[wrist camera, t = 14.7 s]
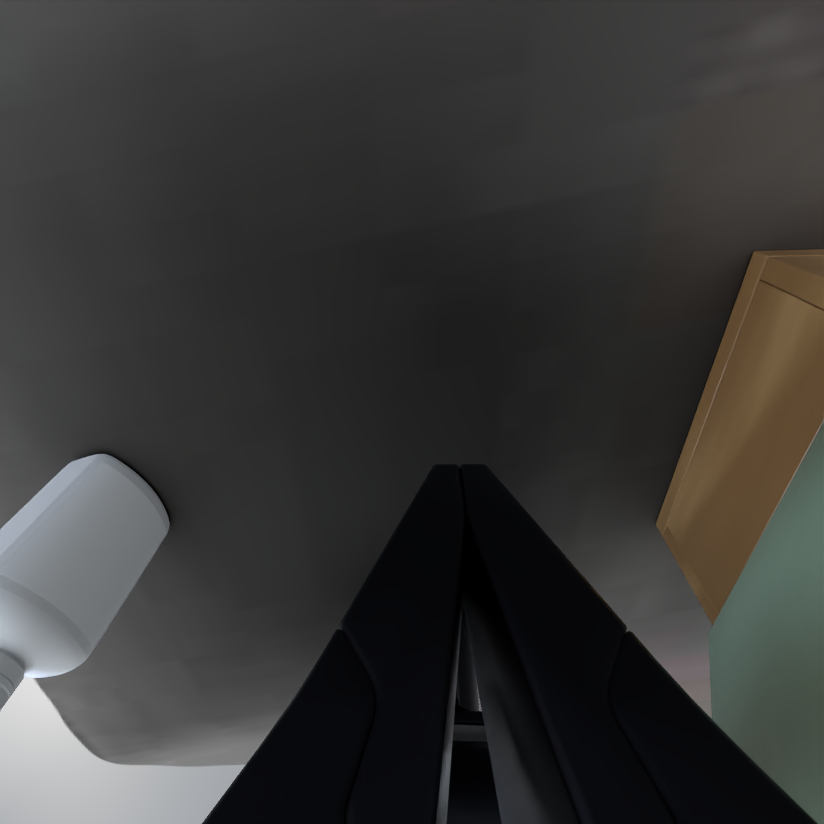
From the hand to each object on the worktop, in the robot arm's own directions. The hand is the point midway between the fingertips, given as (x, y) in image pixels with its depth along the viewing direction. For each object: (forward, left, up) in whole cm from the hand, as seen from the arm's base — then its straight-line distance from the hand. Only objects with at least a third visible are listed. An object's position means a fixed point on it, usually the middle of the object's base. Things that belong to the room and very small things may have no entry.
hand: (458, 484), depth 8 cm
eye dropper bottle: (-10, +16, -11) cm, 22 cm away
